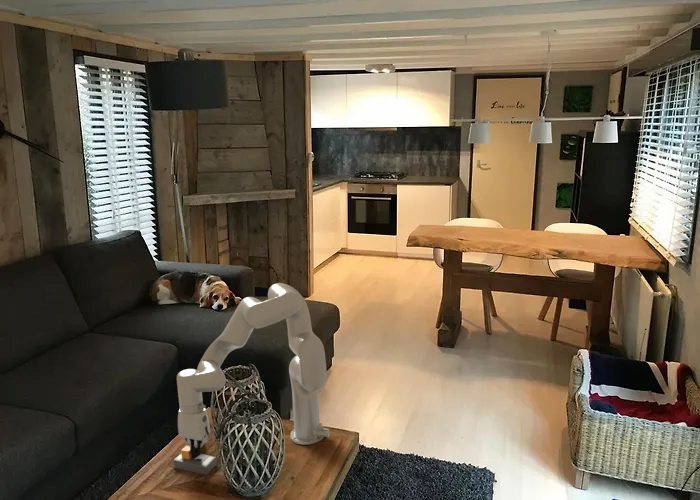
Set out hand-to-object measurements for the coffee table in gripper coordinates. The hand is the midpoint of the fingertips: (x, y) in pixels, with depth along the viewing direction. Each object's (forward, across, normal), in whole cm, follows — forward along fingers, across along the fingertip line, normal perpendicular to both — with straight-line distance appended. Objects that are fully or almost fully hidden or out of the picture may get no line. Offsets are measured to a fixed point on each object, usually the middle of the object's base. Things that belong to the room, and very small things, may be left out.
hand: (196, 455), depth 193 cm
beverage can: (+4, +8, -11) cm, 14 cm away
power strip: (+4, +1, 0) cm, 4 cm away
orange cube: (+1, +3, 0) cm, 4 cm away
